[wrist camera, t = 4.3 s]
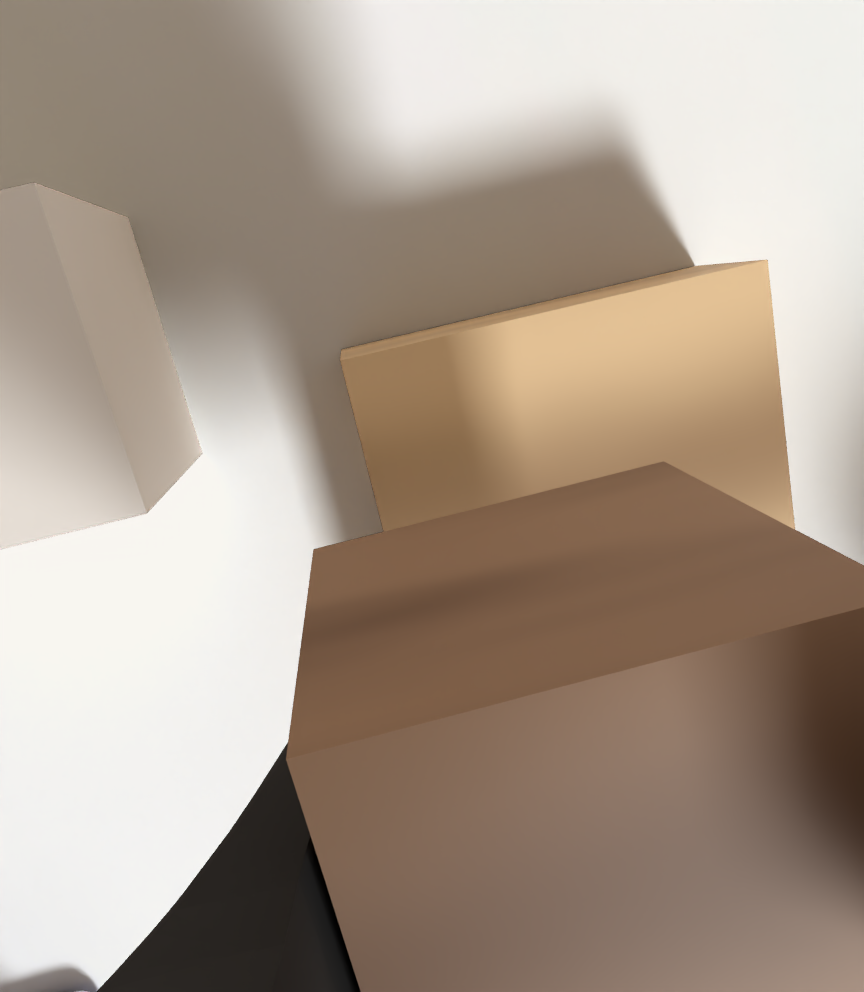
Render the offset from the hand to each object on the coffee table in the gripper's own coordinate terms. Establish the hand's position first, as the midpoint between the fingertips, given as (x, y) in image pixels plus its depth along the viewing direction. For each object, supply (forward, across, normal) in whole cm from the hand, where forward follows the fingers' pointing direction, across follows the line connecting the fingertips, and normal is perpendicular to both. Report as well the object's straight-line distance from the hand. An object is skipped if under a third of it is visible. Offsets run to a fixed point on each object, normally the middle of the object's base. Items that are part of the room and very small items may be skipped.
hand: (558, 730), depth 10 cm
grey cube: (+9, +8, -6) cm, 13 cm away
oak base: (+9, -2, -1) cm, 9 cm away
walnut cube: (+2, 0, 0) cm, 2 cm away
